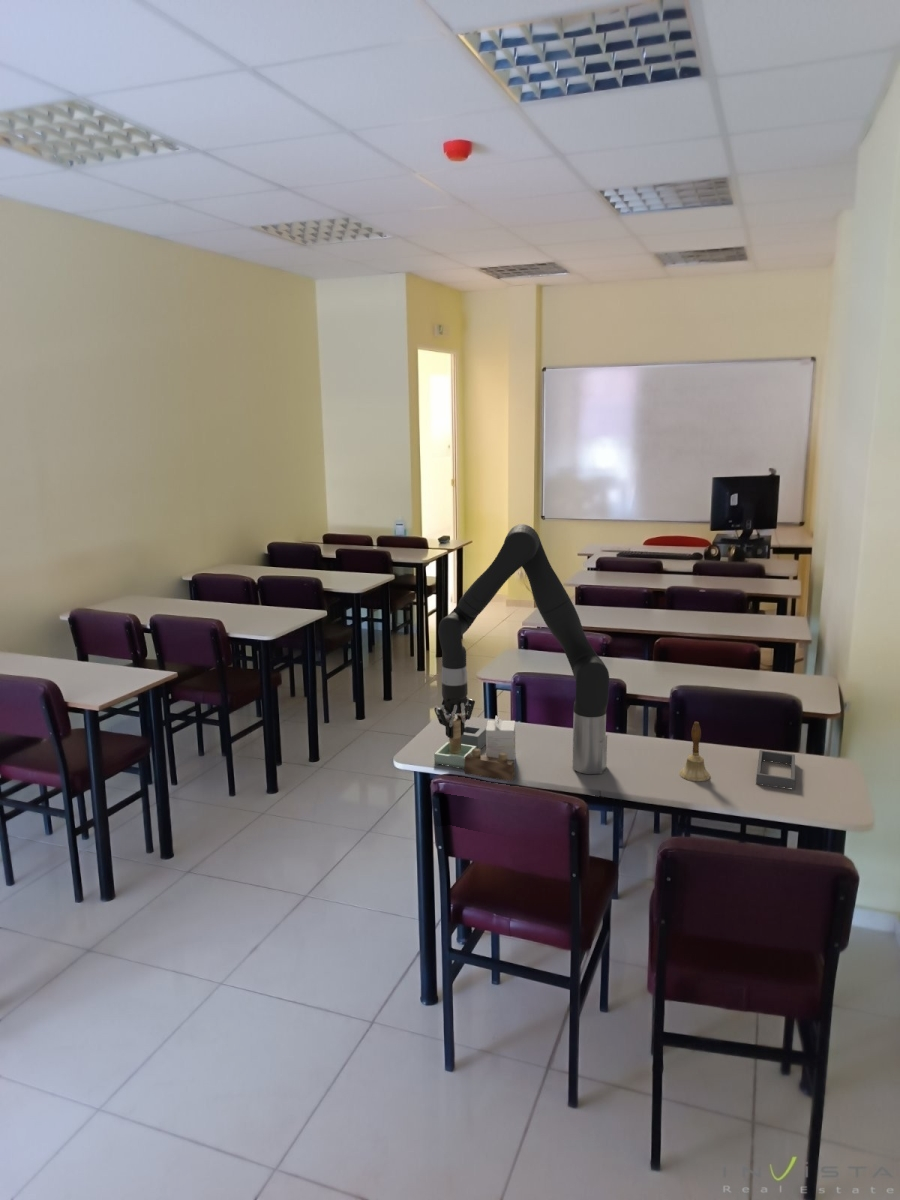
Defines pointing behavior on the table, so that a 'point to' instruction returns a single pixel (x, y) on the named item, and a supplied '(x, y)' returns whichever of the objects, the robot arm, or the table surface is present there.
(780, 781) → the frame
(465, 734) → the socket block
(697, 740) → the hand bell
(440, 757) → the tray
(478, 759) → the peg rack
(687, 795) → the table surface
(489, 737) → the ink box
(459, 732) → the dowel
